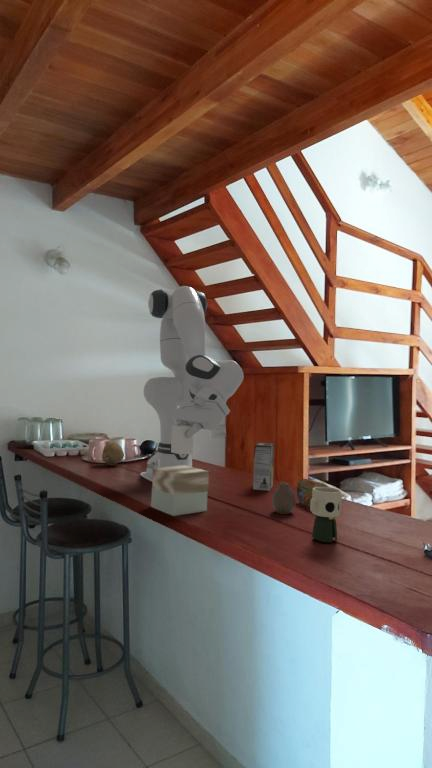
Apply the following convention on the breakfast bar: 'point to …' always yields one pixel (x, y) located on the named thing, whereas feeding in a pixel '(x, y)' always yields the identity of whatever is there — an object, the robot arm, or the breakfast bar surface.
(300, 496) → the tin
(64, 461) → the breakfast bar surface
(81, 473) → the breakfast bar surface
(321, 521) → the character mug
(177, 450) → the offwhite block
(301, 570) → the breakfast bar surface
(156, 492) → the tower base
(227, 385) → the robot arm
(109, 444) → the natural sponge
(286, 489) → the vase
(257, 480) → the coffee box
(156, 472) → the tower top
